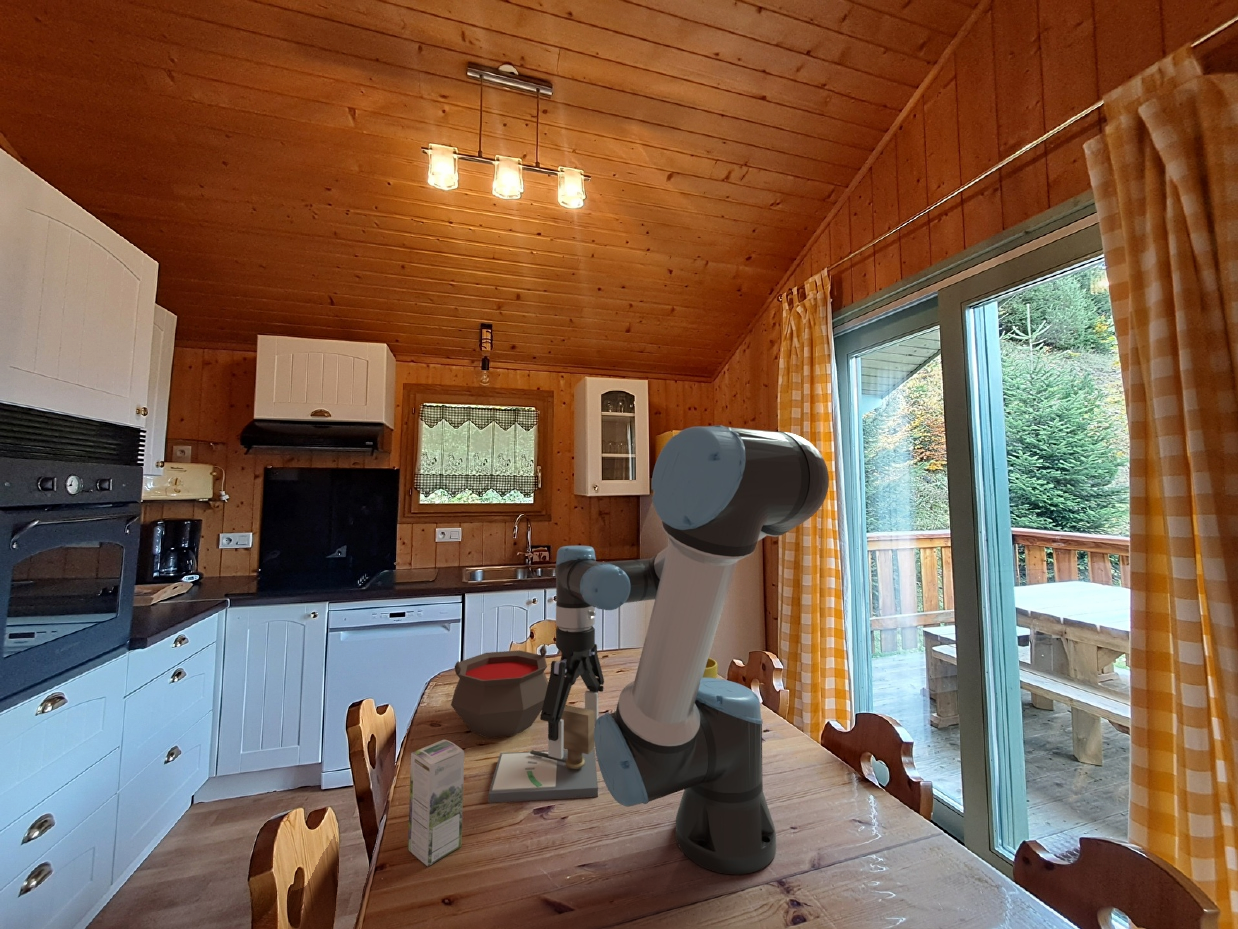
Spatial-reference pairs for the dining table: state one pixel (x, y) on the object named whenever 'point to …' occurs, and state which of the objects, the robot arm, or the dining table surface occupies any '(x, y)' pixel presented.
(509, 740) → the dining table surface
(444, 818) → the syrup box
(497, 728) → the brown soup pot
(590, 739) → the wooden pointer lever
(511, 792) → the tuner board
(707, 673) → the plant pot
